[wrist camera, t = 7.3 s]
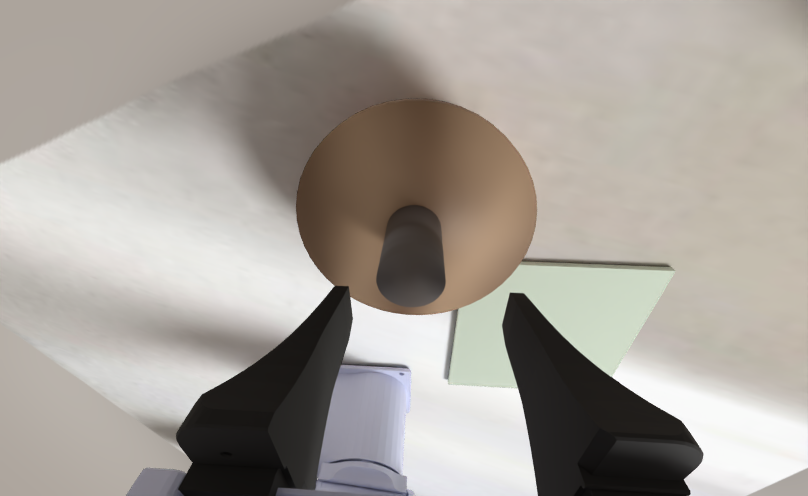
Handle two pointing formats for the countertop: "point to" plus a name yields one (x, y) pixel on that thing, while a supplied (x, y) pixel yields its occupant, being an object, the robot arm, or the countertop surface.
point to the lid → (416, 207)
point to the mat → (558, 316)
